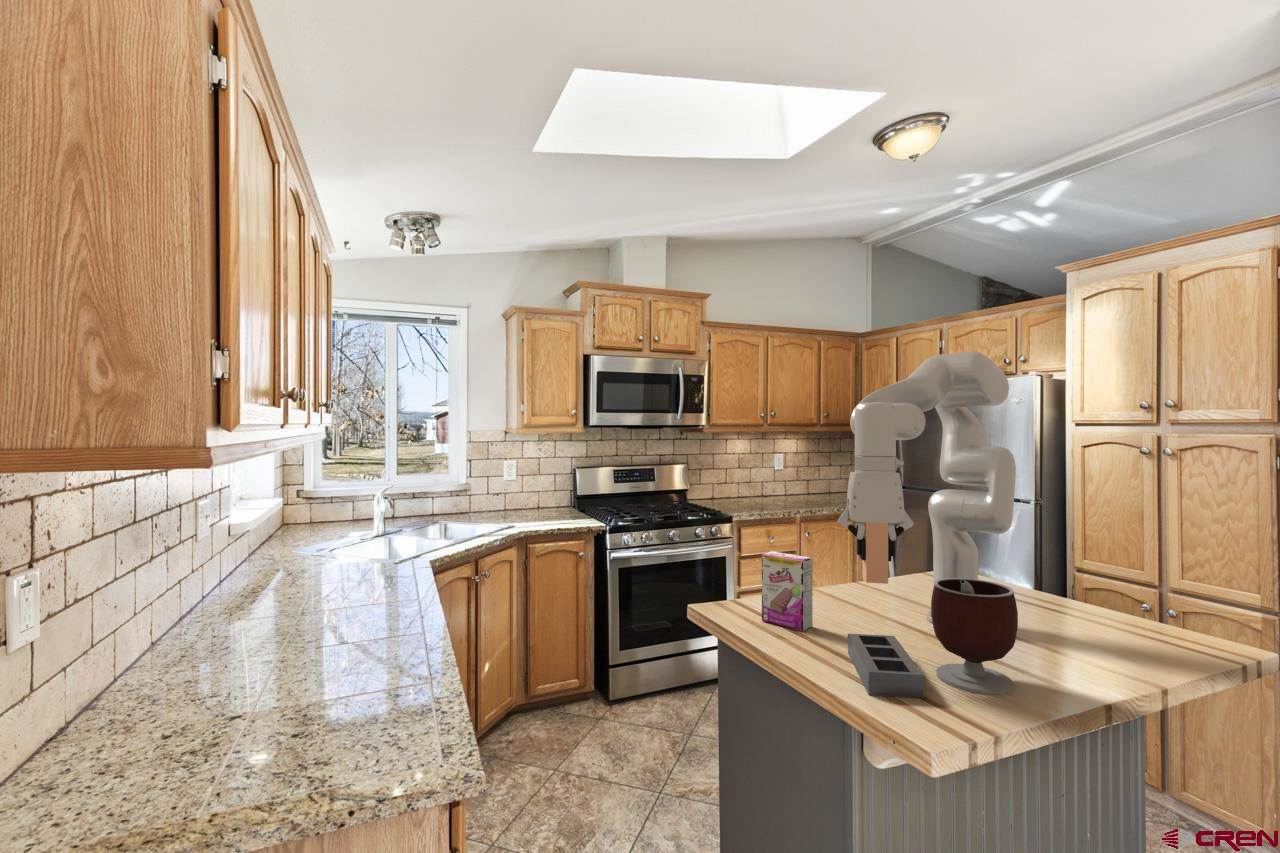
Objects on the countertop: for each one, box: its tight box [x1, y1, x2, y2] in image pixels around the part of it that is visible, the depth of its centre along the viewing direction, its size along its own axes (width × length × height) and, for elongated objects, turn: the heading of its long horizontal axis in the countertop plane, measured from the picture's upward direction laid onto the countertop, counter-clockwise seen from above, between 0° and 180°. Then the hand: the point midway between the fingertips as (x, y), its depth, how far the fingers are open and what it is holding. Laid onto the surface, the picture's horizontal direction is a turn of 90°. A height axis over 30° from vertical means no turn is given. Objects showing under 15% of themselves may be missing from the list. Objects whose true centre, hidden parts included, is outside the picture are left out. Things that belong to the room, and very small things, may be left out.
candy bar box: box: [761, 550, 813, 632], centre depth 142 cm, size 11×5×16 cm, turn 47°
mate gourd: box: [930, 578, 1019, 695], centre depth 109 cm, size 16×14×20 cm
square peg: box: [861, 522, 889, 585], centre depth 117 cm, size 4×4×13 cm
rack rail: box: [847, 633, 925, 700], centre depth 112 cm, size 9×20×4 cm, turn 171°
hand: (875, 558), depth 116 cm, fingers closed on square peg, 4 cm apart
